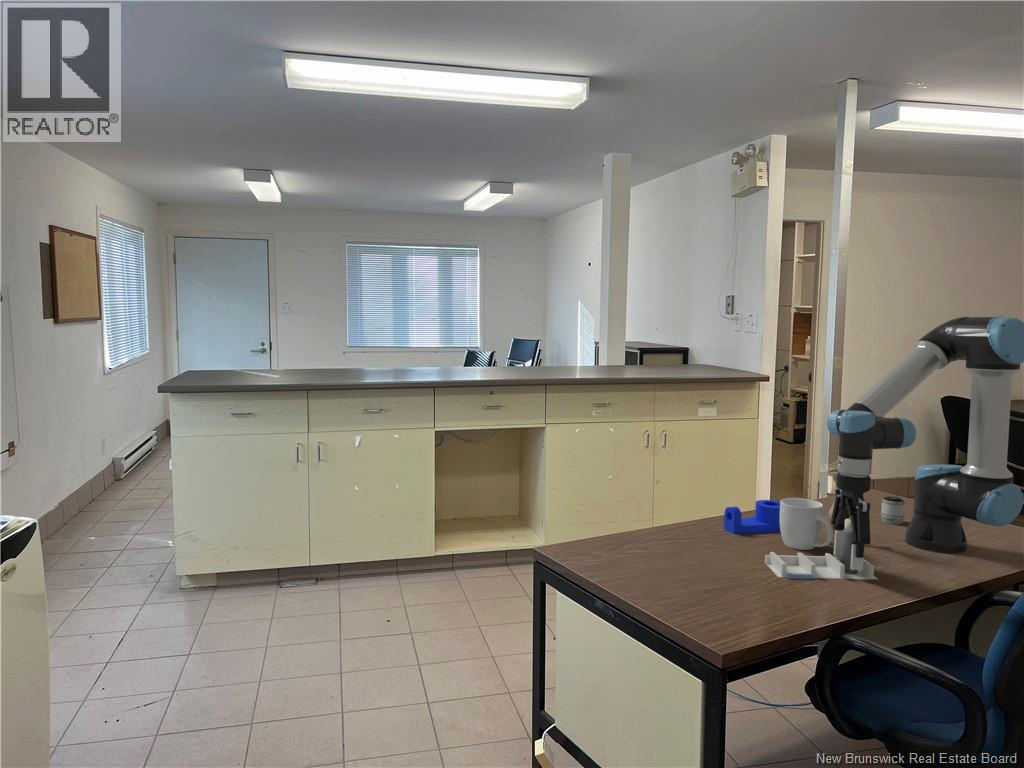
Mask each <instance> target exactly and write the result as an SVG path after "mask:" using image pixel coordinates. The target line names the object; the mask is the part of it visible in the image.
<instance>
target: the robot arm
mask: <svg viewBox="0 0 1024 768" xmlns="http://www.w3.org/2000/svg"><path fill="white" fill-rule="evenodd" d="M956 361H965V370H967V371H968V372H969V373H970V374H971V386H970V387H971V390H970V407H969V421H968V423H969V426H968V427H969V428H968V440H967V442H968V443H967V460H966V464H965V465H964V466H963V465H958V464H941V463H939V464H938V463H937V464H923V465H920V466H918V467H917V469H916V474H915V478H914V495H913V496H914V498H913V499H914V500H913V515H912V517H911V520H910V521H909V524H908V526H907V527H906V530H905V533H904V541H905V542H906V543H907V544H909V545H911V546H913V547H916V548H918V549H923V550H927V551H931V552H935V553H936V552H937V553H945V554H946V553H947V554H955V553H956V554H957V553H958V554H959V553H964V552H966V551H967V549H968V539H967V536H966V533H965V531H964V527H963V523H962V518H966V519H968V520H972V521H976V522H978V523H980V524H982V525H989V526H994V527H1004V526H1006V525H1008V524H1010V523H1012V522H1013V521H1014V520H1015V519H1016V518H1017V517H1018V515H1019V514H1020V513H1021V511H1022V508H1023V506H1024V492H1023V491H1022V489H1021V488H1020V487H1019V486H1017V485H1016V484H1014V483H1013V482H1014V475H1013V472H1011V471H1010V470H1009V469H1008V467H1007V465H1008V452H1009V451H1008V450H1009V434H1010V432H1009V431H1010V417H1011V402H1012V401H1011V400H1012V385H1013V384H1012V383H1013V376H1015V374H1017V373H1018V372H1020V371H1021V364H1023V363H1024V321H1023V320H1021V319H1018V318H1016V317H1009V316H1008V317H1007V316H1006V317H1005V316H1001V315H999V316H972V317H971V316H960V317H955V318H953V319H951V320H948V321H945V322H943V323H941V324H940V325H938V326H936V327H934V328H933V329H931V330H930V331H929V332H927V333H926V334H924V335H923V336H922V337H920V339H919V340H917V342H915V343H914V345H913V350H912V351H911V352H910V353H909V354H908V355H906V356H905V357H904V358H903V359H902V360H901V361H899V363H897V364H896V365H895V366H894V367H893V368H892V369H891V370H890V371H889V372H888V373H887V374H885V375H884V376H883V377H881V379H879V381H877V382H876V383H875V384H874V385H873V386H872V387H871V388H869V390H867V391H866V392H865V393H864V394H863V395H861V397H859V399H857V400H856V401H855V402H854V403H853V404H852V405H850V406H849V407H848V408H847V409H836V410H834V411H832V412H831V413H830V414H829V416H828V417H827V421H826V427H827V431H829V433H830V434H831V435H833V436H834V437H837V438H838V452H837V453H838V454H837V455H838V456H837V460H836V464H837V469H836V470H838V471H839V473H838V474H837V481H836V483H835V486H837V488H839V489H836V490H835V491H834V499H835V502H834V501H833V503H834V508H833V514H832V520H831V519H830V522H831V524H832V525H834V529H836V530H835V541H834V545H833V556H834V557H840V552H841V534H842V530H844V529H845V519H851V522H852V530H853V537H854V541H853V542H851V543H852V551H851V566H850V569H852V570H863V563H864V558H865V548H866V547H865V546H866V545H871V520H870V518H871V517H870V510H871V504H870V502H865V499H864V494H865V493H868V492H869V491H870V490H871V481H872V480H871V479H872V478H871V476H870V475H871V474H872V466H873V453H874V450H884V449H885V450H888V449H897V450H899V449H902V448H903V449H904V448H908V447H910V446H912V445H913V444H914V443H915V441H916V439H917V429H916V426H915V424H914V423H913V421H911V420H910V419H908V418H903V417H895V416H894V417H885V416H886V415H887V414H888V413H889V412H890V411H892V410H893V409H894V408H895V407H896V406H897V405H898V404H900V402H902V401H903V400H904V399H905V398H906V397H907V396H908V395H910V393H912V392H913V391H914V390H915V389H916V388H917V387H918V386H920V385H921V383H923V381H925V380H926V379H928V377H929V376H930V375H932V374H933V373H934V372H935V371H936V370H942V369H944V368H945V367H947V366H948V365H949V364H950V363H952V362H956Z"/></svg>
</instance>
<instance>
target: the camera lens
mask: <svg viewBox="0 0 1024 768" xmlns="http://www.w3.org/2000/svg"><path fill="white" fill-rule="evenodd" d="M881 501H882V502H881V512H880V517H881V521H882V523H884V524H888V525H894V526H895V525H896V526H898V525H899V524H900V525H902V524H903V522H904V516H905V503H906V502H905V500H904V499H902V498H901V497H897V496H886V497H885V496H884V497H883V498H882V499H881Z"/></svg>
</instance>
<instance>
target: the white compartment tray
mask: <svg viewBox="0 0 1024 768" xmlns="http://www.w3.org/2000/svg"><path fill="white" fill-rule="evenodd" d="M764 556H765V557H764V564H766V566H767V567H768V568H769V569H770V570H771V571H772V572H773V573H774V574H775V575H776V576H777V578H786V579H791V580H792V579H795V580H796V579H797V580H813V579H842V580H843V579H844V580H845V579H847V580H849V579H850V580H852V579H853V580H879V578H877V577H876V576H875V575H874V573H875V565H873V564H872V563H870V561H867V560H866V559H864V563H863V570H857V574H846V573H844V571H845V565H843V564H842V563H841V562H840V556H835V555H832V554H831V553H829V552H828V553H827V552H825V554H824V555H822V556H821V555H805V554H804V553H803V552H797V555H788V554H787V555H782V554H780V555H779V554H778V555H777V554H776V553H775V552H774V551H770V552H769V554H764Z"/></svg>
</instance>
